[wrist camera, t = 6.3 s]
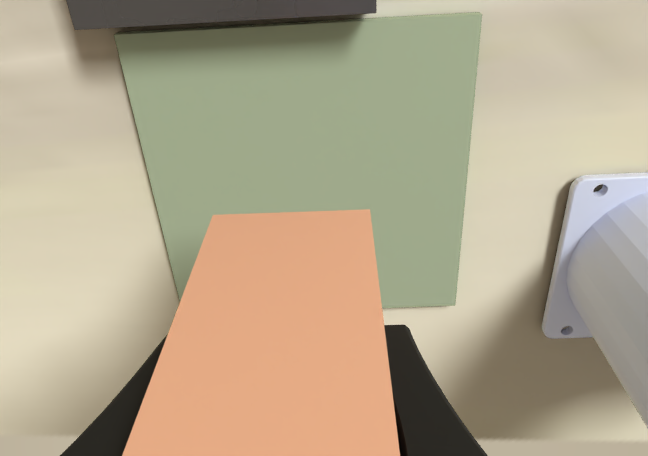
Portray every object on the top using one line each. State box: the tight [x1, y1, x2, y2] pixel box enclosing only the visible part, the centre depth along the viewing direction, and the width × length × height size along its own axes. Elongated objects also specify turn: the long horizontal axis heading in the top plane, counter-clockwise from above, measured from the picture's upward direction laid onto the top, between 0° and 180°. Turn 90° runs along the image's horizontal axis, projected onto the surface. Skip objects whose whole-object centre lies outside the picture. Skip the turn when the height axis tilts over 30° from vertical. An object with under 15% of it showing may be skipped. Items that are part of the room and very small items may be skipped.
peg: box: [122, 209, 400, 456], centre depth 11 cm, size 4×4×8 cm
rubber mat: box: [114, 12, 482, 308], centre depth 21 cm, size 12×12×1 cm
